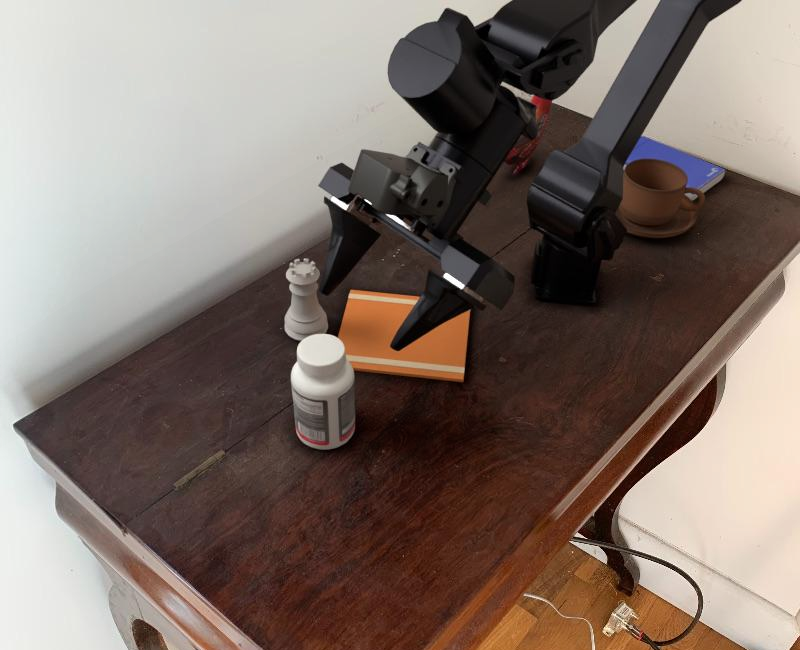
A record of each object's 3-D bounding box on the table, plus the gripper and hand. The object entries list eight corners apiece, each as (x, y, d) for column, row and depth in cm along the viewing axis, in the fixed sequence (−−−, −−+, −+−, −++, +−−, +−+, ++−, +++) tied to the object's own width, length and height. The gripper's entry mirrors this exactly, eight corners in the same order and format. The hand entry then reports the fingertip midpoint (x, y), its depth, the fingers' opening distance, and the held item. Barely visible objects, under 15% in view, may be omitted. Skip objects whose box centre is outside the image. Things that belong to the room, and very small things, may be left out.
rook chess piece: (336, 323, 83) (334, 260, 77) (315, 349, 80) (311, 285, 74) (298, 311, 84) (293, 247, 78) (276, 336, 81) (269, 272, 76)
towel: (470, 304, 86) (471, 301, 86) (463, 382, 78) (463, 378, 77) (350, 292, 87) (350, 288, 86) (330, 368, 78) (330, 364, 78)
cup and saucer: (678, 193, 103) (692, 149, 98) (705, 248, 95) (721, 202, 90) (585, 192, 102) (595, 147, 98) (604, 247, 94) (616, 201, 90)
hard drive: (726, 168, 105) (644, 134, 111) (694, 191, 100) (611, 154, 106) (722, 179, 106) (641, 145, 112) (691, 202, 102) (608, 165, 107)
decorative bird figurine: (551, 150, 110) (564, 78, 102) (494, 210, 99) (504, 134, 92) (532, 144, 111) (544, 73, 103) (473, 202, 100) (481, 127, 93)
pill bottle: (340, 400, 75) (337, 320, 68) (365, 439, 72) (365, 359, 65) (286, 419, 73) (278, 338, 66) (309, 459, 70) (303, 379, 63)
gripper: (333, 65, 62) (228, 237, 65) (510, 162, 53) (379, 358, 55) (404, 131, 72) (310, 278, 74) (565, 223, 62) (452, 388, 65)
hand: (357, 320), depth 67 cm, fingers open, 9 cm apart
